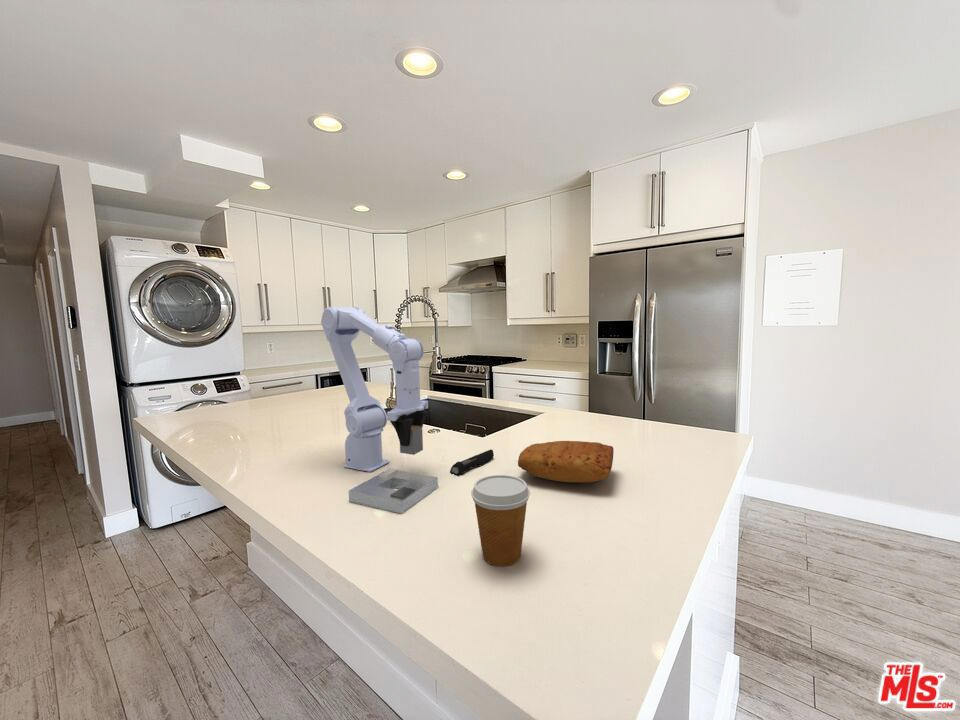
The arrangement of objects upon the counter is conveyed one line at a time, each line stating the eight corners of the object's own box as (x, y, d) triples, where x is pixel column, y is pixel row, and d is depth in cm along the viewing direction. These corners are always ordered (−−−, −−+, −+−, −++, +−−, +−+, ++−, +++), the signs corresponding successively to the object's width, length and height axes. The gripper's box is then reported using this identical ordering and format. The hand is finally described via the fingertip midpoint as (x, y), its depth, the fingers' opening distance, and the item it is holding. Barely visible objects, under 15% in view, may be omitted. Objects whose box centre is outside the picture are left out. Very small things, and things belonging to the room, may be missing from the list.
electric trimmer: (497, 461, 111) (497, 450, 111) (459, 477, 99) (459, 465, 99) (487, 458, 114) (486, 447, 113) (448, 474, 102) (448, 462, 101)
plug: (400, 452, 97) (399, 428, 97) (409, 447, 101) (408, 424, 100) (413, 454, 96) (413, 430, 95) (422, 449, 99) (422, 425, 99)
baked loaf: (618, 472, 100) (618, 441, 99) (607, 500, 85) (607, 463, 84) (534, 460, 110) (533, 431, 109) (510, 483, 94) (510, 450, 94)
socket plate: (349, 501, 87) (348, 488, 86) (390, 478, 99) (389, 466, 99) (401, 513, 81) (400, 499, 80) (438, 487, 93) (437, 474, 93)
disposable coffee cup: (471, 541, 70) (469, 475, 69) (524, 537, 71) (523, 472, 70) (475, 575, 61) (472, 499, 60) (536, 570, 61) (535, 495, 60)
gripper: (404, 394, 89) (406, 453, 90) (437, 384, 102) (439, 436, 103) (378, 392, 92) (381, 450, 93) (414, 383, 105) (416, 433, 106)
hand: (410, 442), depth 98 cm, fingers closed on plug, 4 cm apart
